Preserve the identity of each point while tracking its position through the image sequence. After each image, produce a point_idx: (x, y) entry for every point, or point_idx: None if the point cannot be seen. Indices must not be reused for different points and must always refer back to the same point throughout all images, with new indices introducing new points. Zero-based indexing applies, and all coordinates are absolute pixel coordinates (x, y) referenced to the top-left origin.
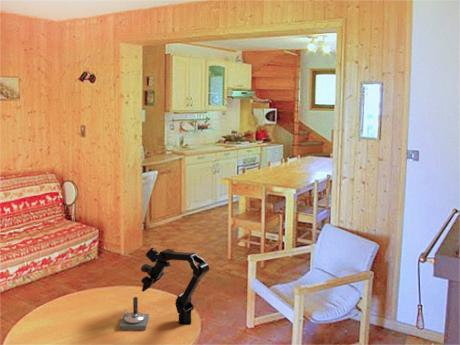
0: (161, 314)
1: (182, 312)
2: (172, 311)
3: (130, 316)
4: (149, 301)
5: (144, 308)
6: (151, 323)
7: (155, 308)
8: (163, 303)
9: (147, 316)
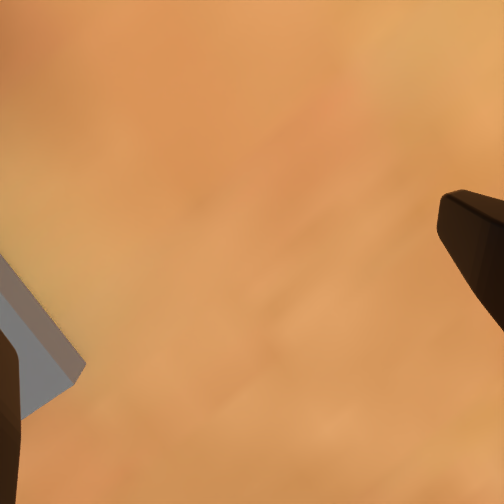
0: (241, 408)
1: None
2: (358, 450)
3: None
4: (426, 83)
5: (250, 156)
6: None
7: (319, 262)
8: None
9: None
